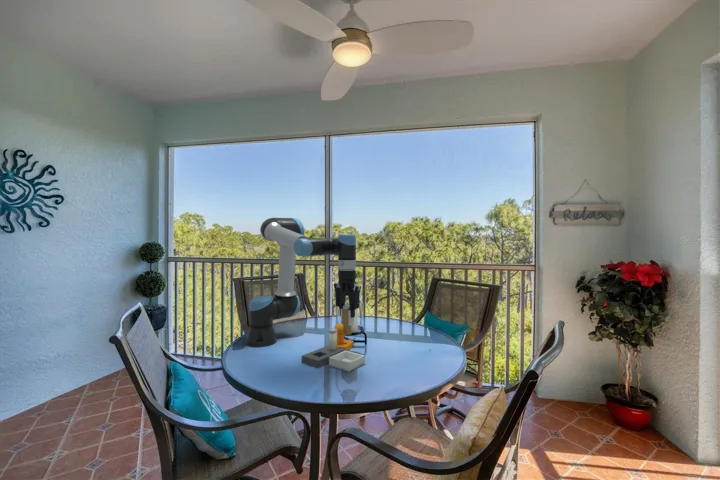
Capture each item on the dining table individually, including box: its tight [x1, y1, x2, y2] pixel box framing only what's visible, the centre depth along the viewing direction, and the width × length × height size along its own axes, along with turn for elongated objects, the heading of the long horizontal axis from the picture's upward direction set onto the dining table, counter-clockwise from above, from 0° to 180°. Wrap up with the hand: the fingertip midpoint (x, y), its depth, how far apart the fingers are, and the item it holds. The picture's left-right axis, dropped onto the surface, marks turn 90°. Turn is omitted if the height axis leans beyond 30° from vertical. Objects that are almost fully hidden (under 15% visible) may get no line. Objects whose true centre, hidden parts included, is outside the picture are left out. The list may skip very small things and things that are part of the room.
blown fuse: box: [343, 304, 352, 336], centre depth 149 cm, size 4×4×12 cm
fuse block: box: [301, 327, 345, 369], centre depth 156 cm, size 18×10×12 cm, turn 143°
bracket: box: [334, 323, 354, 352], centre depth 170 cm, size 11×7×12 cm, turn 160°
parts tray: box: [328, 350, 366, 373], centre depth 149 cm, size 11×11×4 cm
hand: (347, 323), depth 149 cm, fingers closed on blown fuse, 3 cm apart
